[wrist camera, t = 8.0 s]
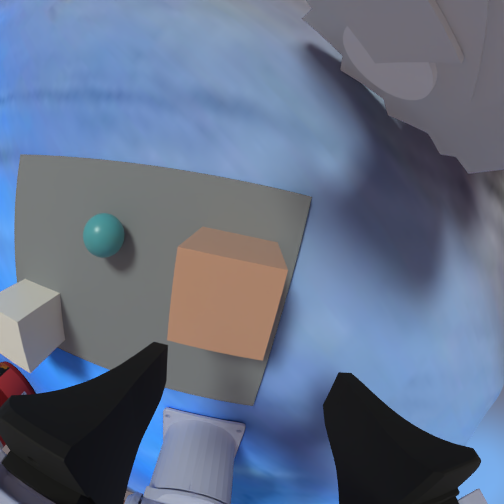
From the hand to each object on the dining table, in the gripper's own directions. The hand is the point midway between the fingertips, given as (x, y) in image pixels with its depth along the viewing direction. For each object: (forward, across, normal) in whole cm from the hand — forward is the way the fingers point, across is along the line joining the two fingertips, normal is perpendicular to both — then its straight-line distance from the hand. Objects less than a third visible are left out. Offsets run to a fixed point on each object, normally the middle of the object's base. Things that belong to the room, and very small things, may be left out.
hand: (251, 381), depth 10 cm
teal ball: (+7, +11, -3) cm, 13 cm away
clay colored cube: (+9, +2, -2) cm, 9 cm away
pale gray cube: (+9, +19, +6) cm, 22 cm away
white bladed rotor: (+10, -9, -24) cm, 28 cm away
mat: (+9, +10, +1) cm, 14 cm away
